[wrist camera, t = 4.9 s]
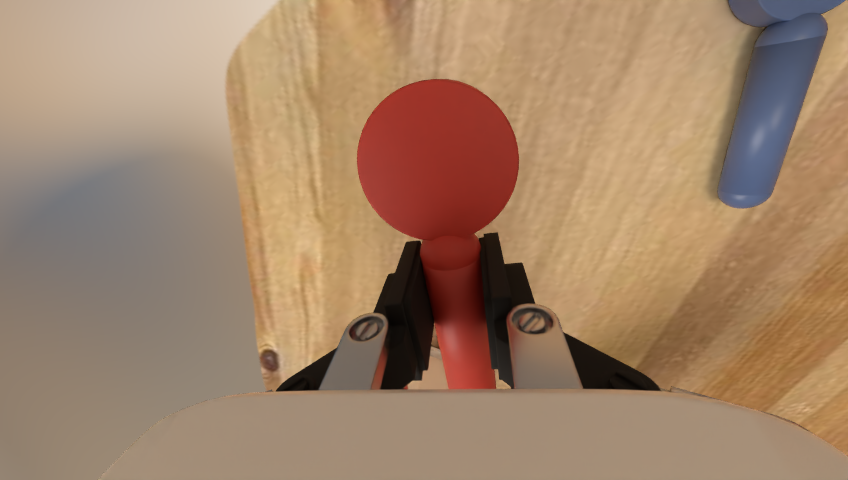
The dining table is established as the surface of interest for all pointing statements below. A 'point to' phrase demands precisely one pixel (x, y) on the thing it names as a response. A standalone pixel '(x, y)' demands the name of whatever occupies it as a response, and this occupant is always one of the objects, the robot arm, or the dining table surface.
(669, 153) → the dining table surface
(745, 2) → the blue spoon
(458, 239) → the red spoon
